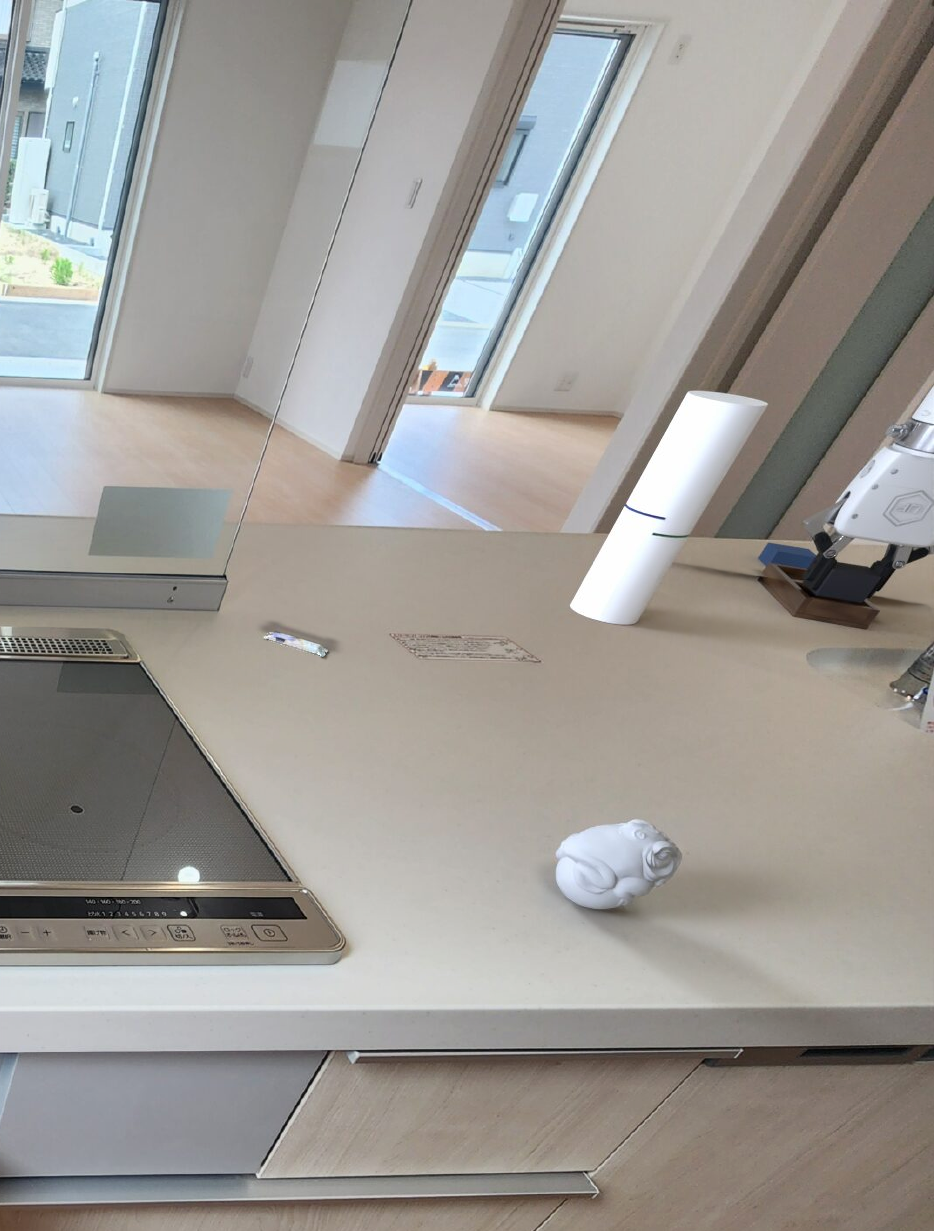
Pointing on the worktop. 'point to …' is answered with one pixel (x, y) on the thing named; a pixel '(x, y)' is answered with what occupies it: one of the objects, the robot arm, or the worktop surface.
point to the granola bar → (297, 642)
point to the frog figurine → (615, 863)
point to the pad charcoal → (848, 582)
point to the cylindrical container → (666, 504)
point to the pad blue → (786, 555)
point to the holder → (814, 599)
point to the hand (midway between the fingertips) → (836, 589)
